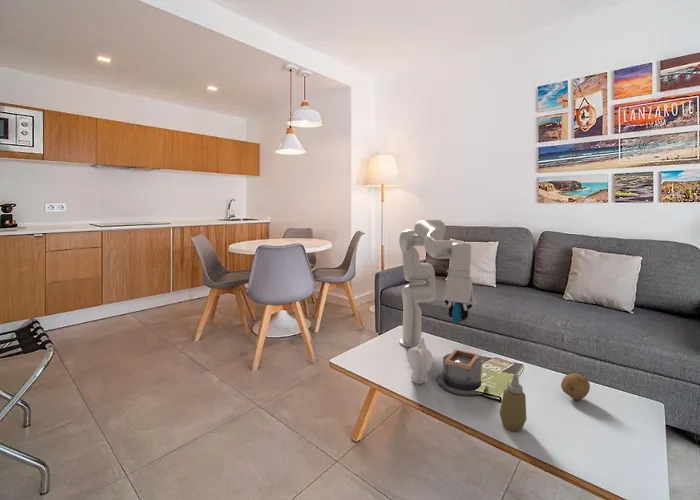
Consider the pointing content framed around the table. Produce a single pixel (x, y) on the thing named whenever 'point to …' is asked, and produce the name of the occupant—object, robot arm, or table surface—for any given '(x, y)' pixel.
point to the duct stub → (461, 373)
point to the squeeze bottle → (513, 406)
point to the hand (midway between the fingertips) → (457, 317)
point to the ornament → (457, 312)
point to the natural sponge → (575, 386)
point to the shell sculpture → (419, 362)
